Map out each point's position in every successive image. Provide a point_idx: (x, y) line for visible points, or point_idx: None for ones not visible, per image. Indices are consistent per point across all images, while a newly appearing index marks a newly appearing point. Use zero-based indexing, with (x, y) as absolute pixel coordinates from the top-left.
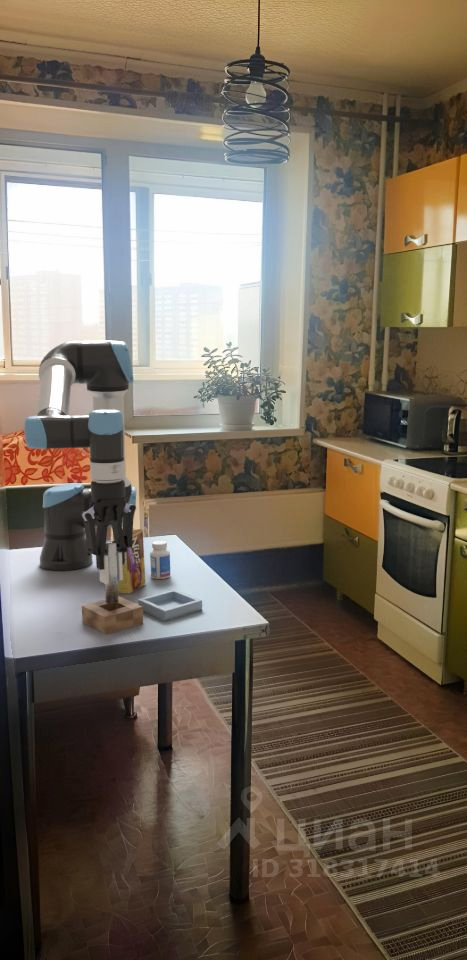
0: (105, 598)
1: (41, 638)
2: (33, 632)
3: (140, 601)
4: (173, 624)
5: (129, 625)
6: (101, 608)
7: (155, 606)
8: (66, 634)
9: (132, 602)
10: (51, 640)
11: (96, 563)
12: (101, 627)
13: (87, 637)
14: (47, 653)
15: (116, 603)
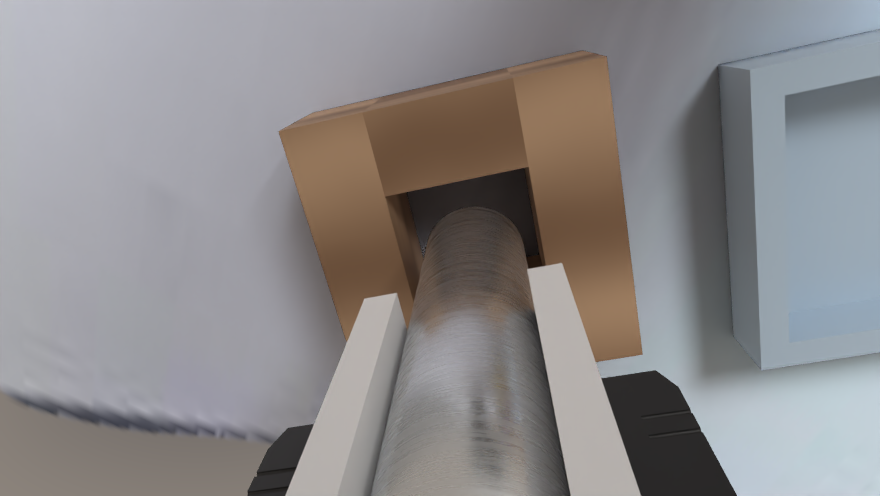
0: (425, 251)
1: (65, 230)
2: (23, 124)
3: (747, 101)
4: (742, 389)
5: None
6: (390, 252)
7: (762, 271)
8: (195, 243)
9: (626, 248)
10: (114, 279)
11: (253, 488)
12: None
13: (288, 330)
14: (88, 404)
15: (530, 179)
